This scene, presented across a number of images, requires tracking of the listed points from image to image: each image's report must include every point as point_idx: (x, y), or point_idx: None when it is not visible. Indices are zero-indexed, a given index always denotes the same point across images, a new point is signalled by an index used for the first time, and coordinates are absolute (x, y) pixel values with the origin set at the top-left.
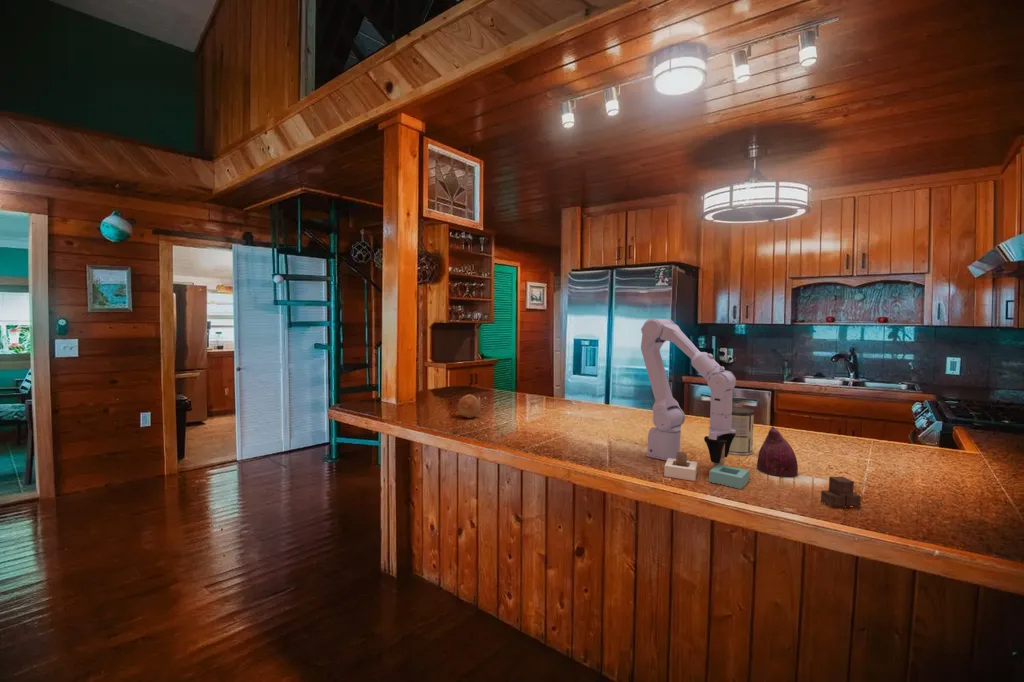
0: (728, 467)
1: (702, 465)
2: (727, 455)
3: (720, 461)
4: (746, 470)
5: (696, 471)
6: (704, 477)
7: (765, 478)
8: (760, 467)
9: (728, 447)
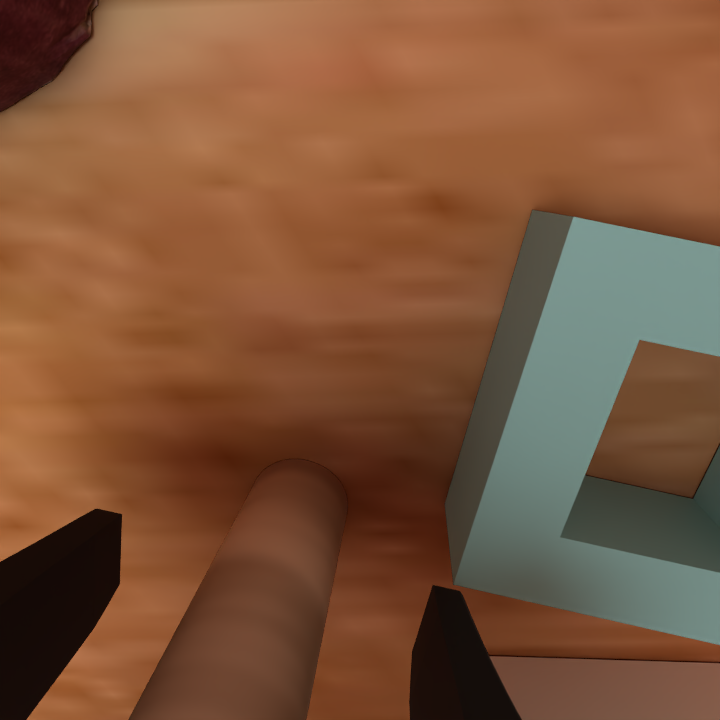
0: (548, 482)
1: None
2: (97, 522)
3: (329, 567)
4: (596, 257)
5: (557, 686)
6: None
7: (301, 13)
8: (1, 83)
9: (11, 608)
